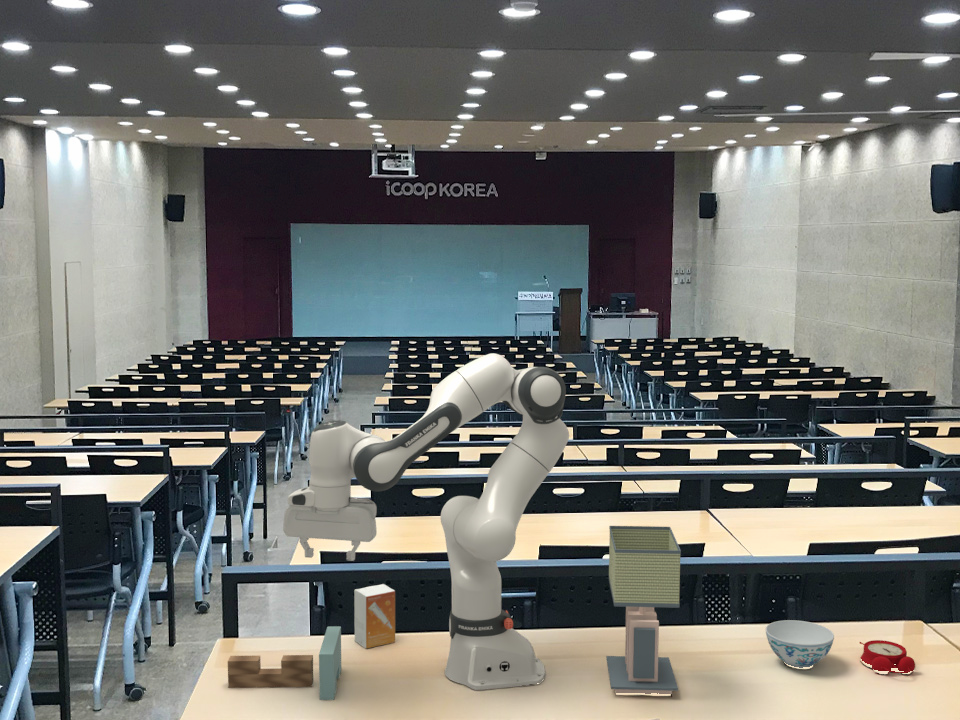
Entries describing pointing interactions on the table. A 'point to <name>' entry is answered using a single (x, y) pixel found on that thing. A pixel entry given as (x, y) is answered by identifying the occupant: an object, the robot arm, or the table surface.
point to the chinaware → (799, 642)
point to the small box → (374, 615)
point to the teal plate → (330, 663)
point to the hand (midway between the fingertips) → (329, 558)
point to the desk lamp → (643, 604)
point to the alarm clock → (887, 656)
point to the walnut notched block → (270, 672)
